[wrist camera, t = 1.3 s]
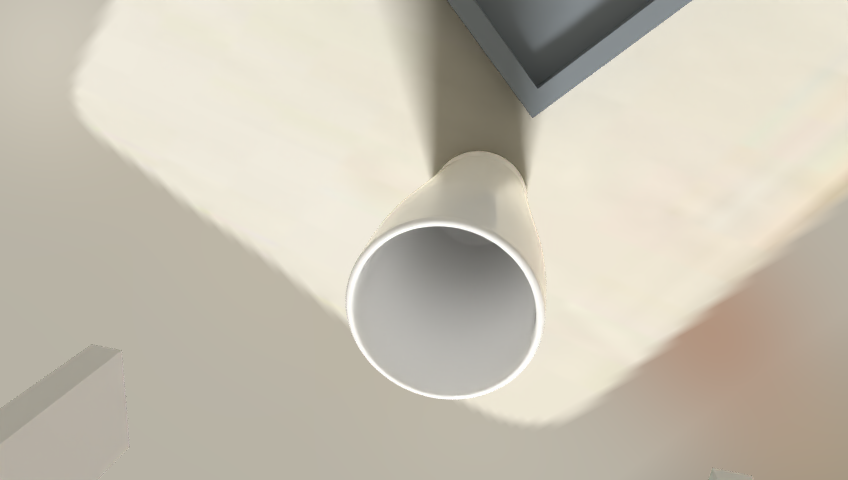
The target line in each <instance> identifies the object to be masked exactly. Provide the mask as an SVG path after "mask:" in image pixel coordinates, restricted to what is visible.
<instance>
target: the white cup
mask: <svg viewBox="0 0 848 480" xmlns="http://www.w3.org/2000/svg"><path fill="white" fill-rule="evenodd" d="M545 311H546V272H545V262H544V256H543V251H542V246H541V242H540V239H539V236H538V232H537V229H536V226H535V223H534V220H533V217H532V214H531V211H530V207H529V204H528V200H527V190H526V186H525V183H524V180H523V178H522V176H521V174H520V173H519V171H518V170H517V169H516V168H515V166H514V165H513V164H512V163H510V162H509V161H508V160H506V159H505V158H503V157H501V156H499V155H497V154H494V153H491V152H486V151H471V152H466V153H463V154H460V155H458V156H456V157H454V158H452V159H451V160H450V161H448V162H447V163H446V164H445V165H444V166H443V167H442V168H441V169H440V171H439V172H438V173H437V174H436V175H435V176H433V177H432V178H431V179H430V180H428V181H427V182H426V183H425V184H423V185H422V186H421V187H419V188H418V189H417V190H415V191H414V192H413V193H412V194H410V195H409V196H408V197H407V198H406V199H404V200H403V201H402V202H401V203H400V204H399V205H398V206H397V207H396V208H395V209H394V210H393V211H392V212H391V213H390V214H389V215H388V216H387V217H386V218H385V219H384V221H383V222H382V223H381V225H380V226H379V227H378V228H377V230H376V231H375V232H374V234H373V235H372V237H371V238H370V240H369V241H368V243H367V245H366V246H365V248H364V250H363V251H362V253H361V254H360V256H359V258H358V259H357V261H356V262H355V265H354V267H353V269H352V271H351V274H350V277H349V280H348V285H347V291H346V313H347V318H348V323H349V326H350V330H351V333H352V335H353V337H354V340H355V342H356V343H357V345H358V347H359V348H360V350H361V352H362V353H363V355H364V356H365V357H366V359H367V360H368V361H369V362H370V363H371V364H372V365H373V366H374V367H375V368H376V369H377V370H378V371H379V372H380V373H381V374H382V375H384V376H385V377H386V378H388V379H389V380H391V381H392V382H394V383H395V384H397V385H399V386H401V387H403V388H405V389H407V390H409V391H412V392H414V393H417V394H420V395H423V396H428V397H432V398H439V399H466V398H472V397H477V396H481V395H484V394H487V393H490V392H492V391H495V390H497V389H499V388H500V387H502V386H504V385H506V384H507V383H509V382H510V381H512V380H513V379H514V378H515V377H517V376H518V375H519V374H520V373H521V372H522V371H523V370H524V369H525V367H526V366H527V365H528V364H529V363H530V361H531V359H532V358H533V356H534V355H535V353H536V351H537V349H538V347H539V344H540V342H541V339H542V335H543V331H544V325H545Z"/></svg>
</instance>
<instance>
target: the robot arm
mask: <svg viewBox="0 0 848 480" xmlns="http://www.w3.org/2000/svg"><path fill="white" fill-rule="evenodd" d="M129 447H130V445H129V432H128V420H127V407H126V395H125V382H124V370H123V358H122V350H118V349H113V348H108V347H103V346H98V345H93V344H91V345H90V346H88V347H87V348H86V349H84V350H83V351H81V352H80V353H78V354H77V355H76V356H74V357H73V358H72V359H70V360H69V361H67V362H66V363H64V364H63V365H62V366H60V367H59V368H57V369H56V370H54V371H53V372H51V373H50V374H49V375H47V376H46V377H45V378H43V379H42V380H40V381H39V382H37V383H36V384H35V385H33V386H32V387H30V388H29V389H27V390H26V391H24V392H23V393H22V394H20V395H19V396H17V397H16V398H15V399H13V400H12V401H10V402H9V403H7V404H6V405H5V406H3V407H2V408H0V480H98V479H99V478H100V477H101V476H102V475H103V474H104V473H105V472H106V471H107V470H108V468H109V467H110V466H111V465H112V464H113V463H114V462H115V461H116V460H117V459H118V458H119V457H120V456H121V455H122V454H123V453H124V452H125V451H126V450H127V449H128V448H129ZM708 480H754V479H753V477H752V476H751V475H746V474H742V473H737V472H731V471H727V470H722V469H716V468H712V470H711V473H710V476H709V479H708Z"/></svg>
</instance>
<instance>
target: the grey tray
mask: <svg viewBox="0 0 848 480" xmlns="http://www.w3.org/2000/svg"><path fill="white" fill-rule="evenodd" d="M447 1H448V2H449V4H450V5H451V6H452V8H453V9H454V10H455V12H456V13H457V15H458V16H459V17H460V19H461V20H462V22H463V23H464V24H465V26H466V27H467V28H468V30H469V31H470V33H471V34H472V35H473V37H474V38H475V39H476V41H477V42H478V44H479V45H480V46H481V48H482V49H483V50H484V52H485V53H486V55H487V56H488V57H489V59H490V60H491V61H492V63H493V64H494V66H495V67H496V68H497V70H498V71H499V72H500V74H501V75H502V77H503V78H504V79H505V81H506V82H507V83H508V85H509V86H510V88H511V89H512V90H513V92H514V93H515V95H516V96H517V97H518V99H519V100H520V101H521V103H522V104H523V106H524V107H525V108H526V110H527V111H528V112H529V114H530V115H531V117H532V118H533V117H535V116H536V115H537V114H539V113H540V112H541V111H543V110H544V109H546V108H547V107H548V106H550V105H551V104H552V103H554V102H555V101H556V100H558V99H559V98H560V97H562V96H563V95H564V94H566V93H567V92H569V91H570V90H571V89H573V88H574V87H575V86H577V85H578V84H579V83H581V82H582V81H583V80H585V79H586V78H588V77H589V76H590V75H592V74H593V73H594V72H596V71H597V70H598V69H600V68H601V67H602V66H604V65H605V64H607V63H608V62H609V61H611V60H612V59H613V58H615V57H616V56H617V55H619V54H620V53H621V52H623V51H624V50H625V49H627V48H628V47H630V46H631V45H632V44H634V43H635V42H636V41H638V40H639V39H640V38H642V37H643V36H644V35H646V34H647V33H649V32H650V31H651V30H653V29H654V28H655V27H657V26H658V25H659V24H661V23H662V22H663V21H665V20H666V19H668V18H669V17H670V16H672V15H673V14H674V13H676V12H677V11H678V10H680V9H681V8H682V7H684V6H685V5H687V4H688V3H689V2H691V1H692V0H447Z"/></svg>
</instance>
